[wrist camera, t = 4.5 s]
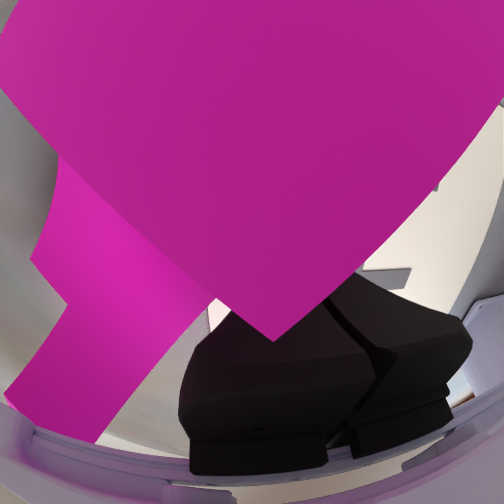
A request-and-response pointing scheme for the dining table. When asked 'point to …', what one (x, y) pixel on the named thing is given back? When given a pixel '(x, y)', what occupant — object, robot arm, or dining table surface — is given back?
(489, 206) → the letter board
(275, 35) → the toy block
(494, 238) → the dining table surface
